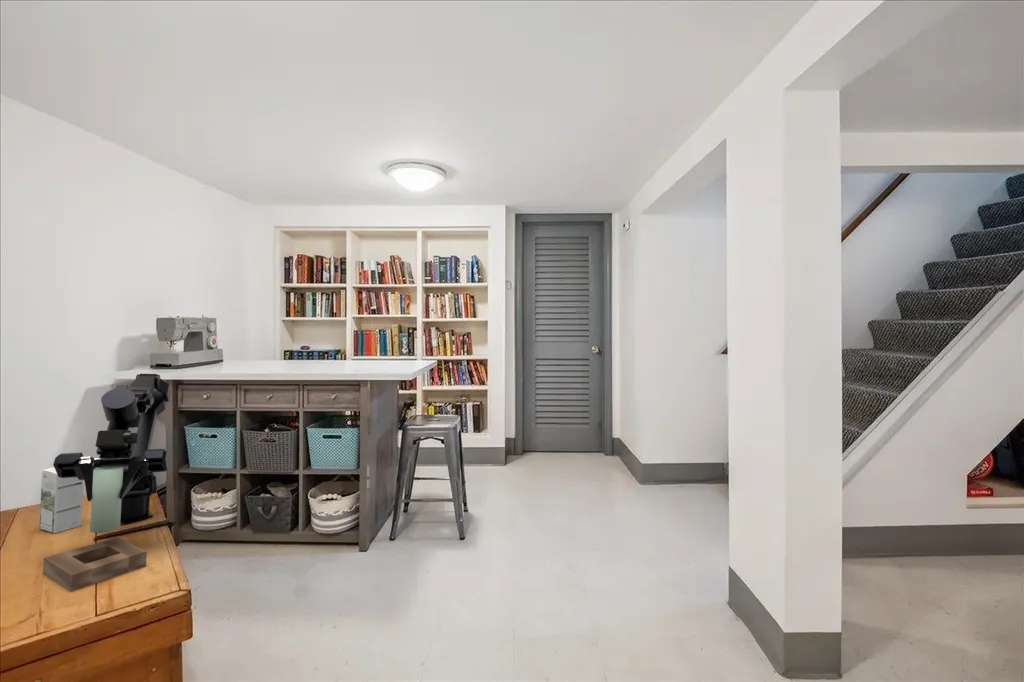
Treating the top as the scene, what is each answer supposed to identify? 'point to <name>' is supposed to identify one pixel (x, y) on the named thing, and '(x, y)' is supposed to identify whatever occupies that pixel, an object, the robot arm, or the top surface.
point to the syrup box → (60, 502)
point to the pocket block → (93, 563)
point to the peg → (106, 499)
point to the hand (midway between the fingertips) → (105, 499)
